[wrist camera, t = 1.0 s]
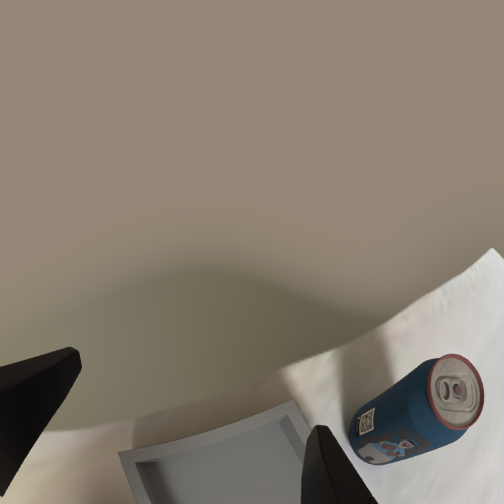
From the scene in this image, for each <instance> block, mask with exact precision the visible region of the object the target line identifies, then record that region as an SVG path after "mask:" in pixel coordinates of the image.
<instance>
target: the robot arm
mask: <svg viewBox="0 0 504 504" xmlns="http://www.w3.org/2000/svg"><path fill="white" fill-rule="evenodd" d="M81 368H82V364H81V359H80V354H79V351H78V350H76V349H74V348H72V347H67V348H63V349H60V350H57V351H53V352H50V353H47V354H43V355H40V356H37V357H33V358H30V359H27V360H23V361H19V362H16V363H12V364H9V365H5V366H1V367H0V496H1V497H3V496H4V494H5V492H6V490H7V489H8V487H9V485H10V483H11V482H12V480H13V478H14V476H15V475H16V473H17V471H18V470H19V468H20V466H21V465H22V463H23V461H24V460H25V458H26V456H27V455H28V453H29V452H30V450H31V449H32V447H33V445H34V444H35V442H36V441H37V439H38V438H39V436H40V435H41V433H42V432H43V430H44V429H45V427H46V426H47V424H48V423H49V421H50V420H51V418H52V417H53V416H54V414H55V413H56V411H57V410H58V408H59V407H60V405H61V404H62V403H63V401H64V400H65V398H66V396H67V395H68V393H69V391H70V389H71V388H72V386H73V384H74V382H75V380H76V378H77V377H78V375H79V373H80V372H81ZM301 504H378V503H377V501H376V500H375V498H374V497H373V496H372V494H371V492H370V491H369V489H368V488H367V486H366V485H365V483H364V482H363V480H362V479H361V477H360V476H359V474H358V473H357V471H356V469H355V468H354V466H353V465H352V463H351V462H350V460H349V459H348V457H347V456H346V454H345V452H344V451H343V449H342V448H341V446H340V445H339V443H338V441H337V440H336V438H335V437H334V435H333V434H332V432H331V430H330V429H329V427H328V426H325V425H316V426H315V427H314V429H313V430H312V432H311V433H310V435H309V436H308V438H307V442H306V449H305V456H304V463H303V469H302V476H301Z"/></svg>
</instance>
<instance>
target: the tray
mask: <svg viewBox="0 0 504 504" xmlns="http://www.w3.org/2000/svg"><path fill="white" fill-rule="evenodd" d="M310 433H311V430H310V428H309V427H308V425H307V423H306V421H305V420H304V418H303V416H302V415H301V413H300V411H299V409H298V408H297V406H296V404H295V402H294V400H293V399H292V400H290V401H287V402H285V403H283V404H280V405H278V406H276V407H273V408H271V409H269V410H266V411H264V412H261V413H259V414H256V415H253V416H251V417H248V418H246V419H243V420H240V421H237V422H234V423H232V424H229V425H226V426H223V427H220V428H217V429H214V430H210V431H207V432H204V433H201V434H197V435H194V436H190V437H186V438H183V439H179V440H175V441H171V442H167V443H162V444H158V445H154V446H149V447H144V448H139V449H133V450H128V451H122V452H118V454H119V457H120V460H121V463H122V466H123V469H124V472H125V474H126V477H127V480H128V482H129V485H130V487H131V490H132V492H133V495H134V497H135V499H136V502H137V504H301V476H302V469H303V463H304V456H305V449H306V442H307V438H308V436H309V435H310Z"/></svg>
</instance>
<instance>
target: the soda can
mask: <svg viewBox="0 0 504 504" xmlns="http://www.w3.org/2000/svg"><path fill="white" fill-rule="evenodd" d="M483 405H484V388H483V384H482V380H481V378H480V375H479V373H478V372H477V370H476V368H475V367H474V366H473V365H472V363H471V362H470V361H469V360H467V359H466V358H465V357H463V356H461V355H457V354H447V355H444V356H442V357H441V358H435V359H430V360H427V361H425V362H423V363H422V364H420V365H419V366H418V367H417V368H415V369H414V370H413V371H412V372H410V373H409V374H408V375H406V376H405V377H404V378H402V379H401V380H400V381H398V382H397V383H396V384H394V385H393V386H392V387H390V388H389V389H387V390H386V391H385V392H383V393H382V394H380V395H379V396H377V397H376V398H374V399H373V400H371V401H370V402H368V403H367V404H365V405H364V406H363V407H361V408H360V409H359V410H358V412H357V413H356V414H355V416H354V418H353V420H352V422H351V425H350V431H349V438H350V443H351V446H352V449H353V451H354V452H355V454H356V455H357V456H358V457H359V458H360V459H361V460H363V461H364V462H366V463H369V464H372V465H385V464H389V463H393V462H397V461H400V460H404V459H407V458H411V457H414V456H417V455H420V454H423V453H426V452H429V451H432V450H435V449H437V448H440V447H443V446H445V445H448V444H450V443H453V442H455V441H456V440H458V439H459V438H460V437H461V436H462V435H463V434H464V433H465V432H466V431H467V429H468V428H469V427H470V426H471V425H473V424H474V423H475V422H476V421H477V419H478V418H479V416H480V414H481V412H482V409H483Z"/></svg>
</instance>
